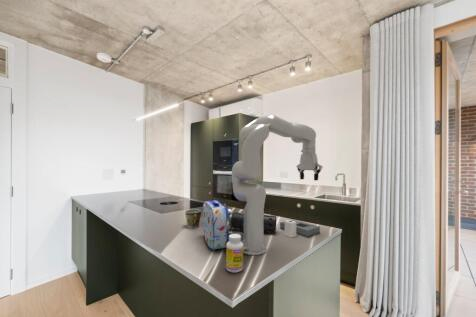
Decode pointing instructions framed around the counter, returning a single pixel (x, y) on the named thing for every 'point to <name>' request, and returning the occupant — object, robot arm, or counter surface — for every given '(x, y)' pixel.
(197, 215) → the olive green tapered container
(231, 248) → the supplement bottle
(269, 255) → the counter surface
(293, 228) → the charger
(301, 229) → the outlet box
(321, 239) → the counter surface
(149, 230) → the counter surface
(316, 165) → the robot arm
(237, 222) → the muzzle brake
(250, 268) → the counter surface
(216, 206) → the lunch box
